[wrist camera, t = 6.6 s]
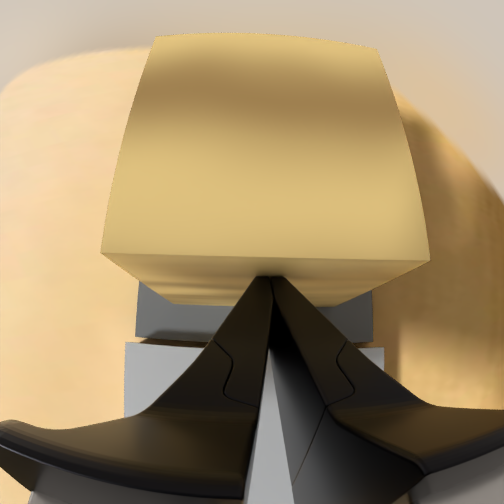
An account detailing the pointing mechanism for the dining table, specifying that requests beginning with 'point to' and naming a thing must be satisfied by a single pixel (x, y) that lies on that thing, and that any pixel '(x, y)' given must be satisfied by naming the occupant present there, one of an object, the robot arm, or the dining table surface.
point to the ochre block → (264, 171)
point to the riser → (270, 430)
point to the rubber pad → (211, 317)
